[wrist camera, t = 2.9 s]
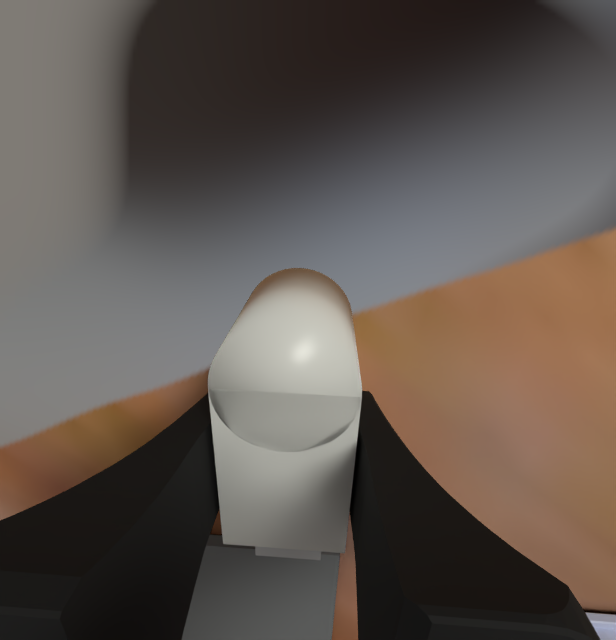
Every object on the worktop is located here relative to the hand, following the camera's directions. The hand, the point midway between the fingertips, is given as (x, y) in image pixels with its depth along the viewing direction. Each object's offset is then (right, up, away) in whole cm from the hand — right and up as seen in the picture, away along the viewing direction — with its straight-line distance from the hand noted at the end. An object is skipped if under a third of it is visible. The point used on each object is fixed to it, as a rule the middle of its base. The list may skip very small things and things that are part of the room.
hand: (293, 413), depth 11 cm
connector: (0, +1, +1) cm, 1 cm away
